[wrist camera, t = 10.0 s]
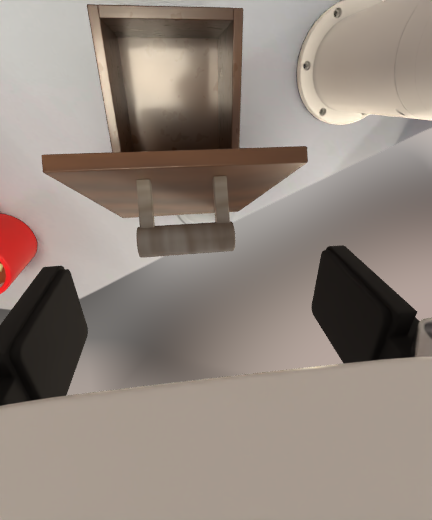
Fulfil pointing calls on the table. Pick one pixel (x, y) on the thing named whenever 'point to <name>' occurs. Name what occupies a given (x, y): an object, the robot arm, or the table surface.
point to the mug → (14, 249)
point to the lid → (177, 189)
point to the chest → (169, 75)
